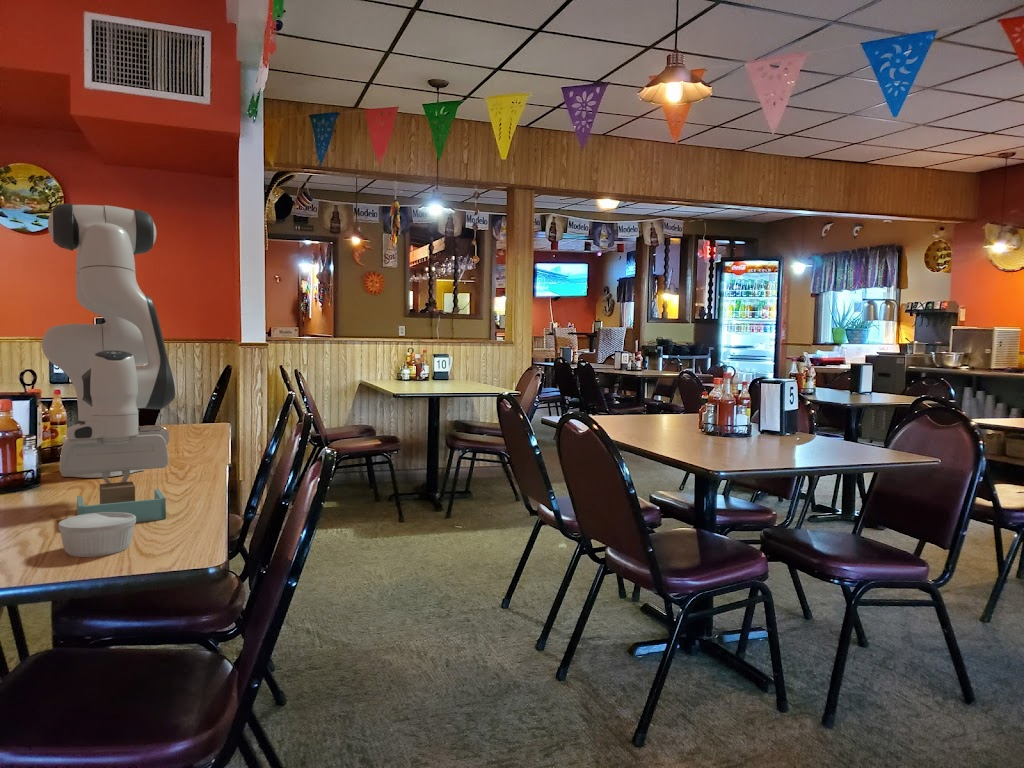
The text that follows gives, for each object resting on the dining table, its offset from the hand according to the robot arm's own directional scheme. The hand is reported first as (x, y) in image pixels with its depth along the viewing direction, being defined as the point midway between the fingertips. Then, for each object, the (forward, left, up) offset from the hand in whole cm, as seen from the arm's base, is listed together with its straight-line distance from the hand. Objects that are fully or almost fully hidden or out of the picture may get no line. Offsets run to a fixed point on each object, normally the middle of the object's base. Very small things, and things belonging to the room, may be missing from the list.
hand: (116, 492), depth 151 cm
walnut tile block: (+4, 0, -3) cm, 5 cm away
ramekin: (+35, -5, -3) cm, 35 cm away
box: (+13, 0, -3) cm, 13 cm away
